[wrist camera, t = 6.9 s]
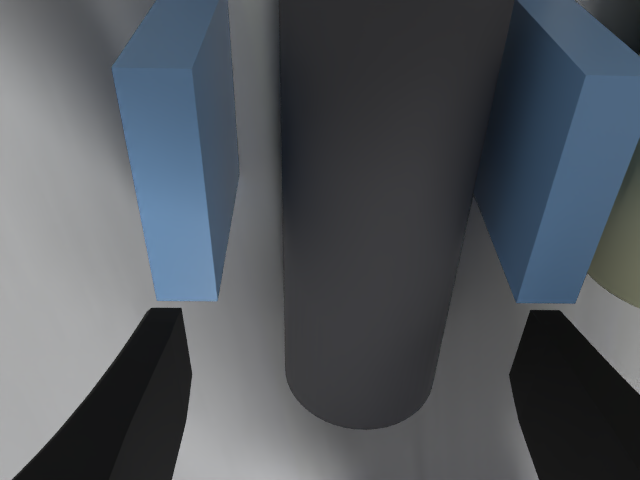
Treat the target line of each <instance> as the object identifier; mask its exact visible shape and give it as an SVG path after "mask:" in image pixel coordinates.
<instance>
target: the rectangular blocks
mask: <svg viewBox="0 0 640 480" xmlns="http://www.w3.org/2000/svg"><path fill="white" fill-rule="evenodd" d="M111 68H112V73H113V78H114V83H115V89H116V94H117V99H118V104H119V109H120V114H121V119H122V124H123V129H124V135H125V140H126V145H127V150H128V155H129V160H130V165H131V170H132V176H133V181H134V186H135V191H136V196H137V201H138V206H139V211H140V217H141V222H142V227H143V232H144V237H145V242H146V247H147V252H148V257H149V263H150V268H151V273H152V278H153V283H154V288H155V293H156V298H157V301H218V296H219V290H220V284H221V279H222V273H223V267H224V261H225V255H226V250H227V244H228V238H229V232H230V226H231V221H232V215H233V209H234V203H235V197H236V192H237V186H238V180H239V160H238V145H237V131H236V116H235V102H234V87H233V72H232V58H231V43H230V29H229V14H228V0H156V2H155V3H154V5H153V6H152V8H151V9H150V10H149V12H148V13H147V15H146V16H145V18H144V19H143V21H142V22H141V24H140V25H139V27H138V28H137V30H136V31H135V33H134V34H133V36H132V37H131V39H130V40H129V42H128V43H127V45H126V46H125V48H124V49H123V51H122V52H121V54H120V55H119V57H118V58H117V60H116V61H115V63H114V64H113V66H112V67H111ZM639 138H640V56H639V55H638V54H636V53H635V52H634V51H633V50H632V49H631V48H629V47H628V46H627V45H626V44H625V43H624V42H622V41H621V40H620V39H619V38H618V37H617V36H615V35H614V34H613V33H612V32H611V31H610V30H608V29H607V28H606V27H605V26H604V25H603V24H601V23H600V22H599V21H598V20H597V19H596V18H594V17H593V16H592V15H591V14H590V13H589V12H587V11H586V10H585V9H584V8H583V7H582V6H580V5H579V4H578V3H577V2H576V1H575V0H515V1H514V6H513V10H512V15H511V20H510V24H509V29H508V34H507V38H506V43H505V48H504V52H503V57H502V62H501V66H500V71H499V76H498V80H497V85H496V90H495V94H494V99H493V104H492V109H491V113H490V118H489V123H488V127H487V132H486V137H485V141H484V146H483V151H482V155H481V160H480V165H479V169H478V174H477V179H476V183H475V188H474V193H473V194H474V196H475V199H476V201H477V204H478V207H479V209H480V212H481V214H482V217H483V219H484V222H485V224H486V227H487V230H488V232H489V235H490V237H491V240H492V242H493V245H494V247H495V250H496V253H497V255H498V258H499V260H500V263H501V265H502V268H503V270H504V273H505V276H506V278H507V281H508V283H509V286H510V288H511V291H512V293H513V296H514V299H515V301H516V303H572V304H575V303H576V300H577V297H578V295H579V292H580V290H581V287H582V284H583V282H584V279H585V277H586V274H587V272H588V269H589V266H590V264H591V261H592V259H593V256H594V254H595V251H596V248H597V246H598V243H599V241H600V238H601V236H602V233H603V230H604V228H605V225H606V223H607V220H608V217H609V215H610V212H611V210H612V207H613V205H614V202H615V199H616V197H617V194H618V192H619V189H620V187H621V184H622V181H623V179H624V176H625V174H626V171H627V169H628V166H629V163H630V161H631V158H632V156H633V153H634V151H635V148H636V145H637V143H638V140H639Z"/></svg>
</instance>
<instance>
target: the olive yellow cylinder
mask: <svg viewBox="0 0 640 480" xmlns="http://www.w3.org/2000/svg"><path fill="white" fill-rule="evenodd" d="M639 56H640V54H639ZM587 273H588V274H589V275H590V276H591V278H592V279H594V280H595V281H596V282H597V283H598V284H599V285H600V286H602V287H603V288H604V289H606V290H607V291H609V292H610V293H612V294H613V295H615V296H616V297H618V298H620V299H621V300H623V301H625V302H627V303H629V304H631V305H633V306H635V307H638V308H640V138H639V140H638V143H637V145H636V148H635V151H634V153H633V156H632V158H631V161H630V163H629V166H628V169H627V171H626V174H625V176H624V179H623V181H622V184H621V187H620V189H619V192H618V194H617V197H616V199H615V202H614V205H613V207H612V210H611V212H610V215H609V217H608V220H607V223H606V225H605V228H604V230H603V233H602V236H601V238H600V241H599V243H598V246H597V248H596V251H595V254H594V256H593V259H592V261H591V264H590V266H589V269H588V272H587Z"/></svg>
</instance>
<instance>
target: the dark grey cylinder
mask: <svg viewBox="0 0 640 480" xmlns="http://www.w3.org/2000/svg"><path fill="white" fill-rule="evenodd" d="M514 1H515V0H279V23H280V83H281V143H282V204H283V264H284V324H285V371H286V378H287V382H288V384H289V387H290V389H291V391H292V393H293V394H294V396H295V397H296V399H297V400H298V401H299V402H300V403H301V405H303V406H304V407H305V408H306V409H307V410H308V411H309V412H311V413H312V414H314V415H315V416H317V417H319V418H320V419H322V420H324V421H326V422H329V423H331V424H334V425H337V426H341V427H345V428H351V429H364V430H367V429H378V428H383V427H388V426H391V425H394V424H397V423H399V422H401V421H403V420H405V419H407V418H408V417H410V416H412V415H413V414H414V413H415V412H416V411H418V410H419V409H420V408H421V406H422V405H423V404H424V403H425V401H426V400H427V398H428V396H429V394H430V391H431V389H432V385H433V380H434V375H435V370H436V366H437V361H438V356H439V352H440V347H441V342H442V338H443V333H444V328H445V324H446V319H447V314H448V310H449V305H450V300H451V296H452V291H453V286H454V282H455V277H456V272H457V268H458V263H459V258H460V254H461V249H462V244H463V240H464V235H465V230H466V225H467V221H468V216H469V211H470V207H471V202H472V197H473V193H474V188H475V183H476V179H477V174H478V169H479V165H480V160H481V155H482V151H483V146H484V141H485V137H486V132H487V127H488V123H489V118H490V113H491V109H492V104H493V99H494V94H495V90H496V85H497V80H498V76H499V71H500V66H501V62H502V57H503V52H504V48H505V43H506V38H507V34H508V29H509V24H510V20H511V15H512V10H513V6H514Z"/></svg>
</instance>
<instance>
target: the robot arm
mask: <svg viewBox="0 0 640 480" xmlns="http://www.w3.org/2000/svg"><path fill="white" fill-rule="evenodd" d="M509 377H510V382H511V387H512V392H513V397H514V402H515V406H516V411H517V415H518V420H519V423H520V426H521V429H522V432H523V435H524V438H525V441H526V444H527V446H528V449H529V452H530V455H531V458H532V461H533V464H534V467H535V469H536V472H537V475H538V478H539V480H640V395H639V394H638V393H637V392H636V391H635V390H634V389H633V388H632V387H631V386H630V385H629V384H628V383H627V381H626V380H625V379H624V378H623V377H622V376H621V375H620V374H619V373H618V372H617V371H616V370H615V369H614V368H613V367H612V366H611V365H610V364H609V363H608V362H607V361H606V360H605V359H604V358H603V356H602V355H601V354H600V353H599V352H598V351H597V350H596V349H595V348H594V347H593V346H592V345H591V344H590V343H589V341H588V340H587V339H586V338H585V337H584V336H583V335H582V334H581V333H580V332H579V331H578V330H577V328H576V327H575V326H574V325H573V324H572V323H571V322H570V321H569V320H568V319H567V318H566V317H565V316H564V315H563V313H562V312H561V311H560V310H530V313H529V316H528V319H527V322H526V325H525V328H524V331H523V334H522V337H521V340H520V343H519V346H518V349H517V352H516V355H515V359H514V362H513V365H512V368H511V371H510V374H509ZM191 379H192V370H191V364H190V357H189V351H188V345H187V339H186V333H185V327H184V321H183V314H182V308H151V309H150V310H148V311H147V312H146V314H145V316H144V317H143V319H142V320H141V322H140V323H139V325H138V327H137V328H136V330H135V331H134V333H133V334H132V336H131V337H130V339H129V340H128V342H127V343H126V344H125V346H124V347H123V349H122V350H121V352H120V353H119V354H118V356H117V357H116V359H115V360H114V362H113V363H112V364H111V366H110V367H109V368H108V370H107V371H106V372H105V374H104V375H103V376H102V378H101V379H100V380H99V382H98V383H97V384H96V386H95V387H94V388H93V389H92V391H91V392H90V393H89V395H88V396H87V397H86V398H85V400H84V401H83V402H82V403H81V404H80V406H79V407H78V408H77V409H76V410H75V412H74V413H73V414H72V415H71V416H70V417H69V419H68V420H67V421H66V422H65V423H64V425H63V426H62V427H61V428H60V429H59V431H58V432H57V433H56V434H55V435H54V436H53V437H52V438H51V439H50V441H49V442H48V443H47V444H46V445H45V446H44V447H43V448H42V449H41V450H40V451H39V453H38V454H37V455H36V456H35V457H34V458H33V459H32V460H31V461H30V462H29V463H28V464H27V465H26V466H25V467H24V468H23V469H22V470H21V471H20V472H19V473H18V474H17V475H16V476H15V477H14V478H13V479H12V480H172V476H173V472H174V468H175V464H176V460H177V456H178V452H179V448H180V444H181V440H182V436H183V432H184V428H185V423H186V418H187V411H188V404H189V396H190V388H191Z"/></svg>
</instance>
